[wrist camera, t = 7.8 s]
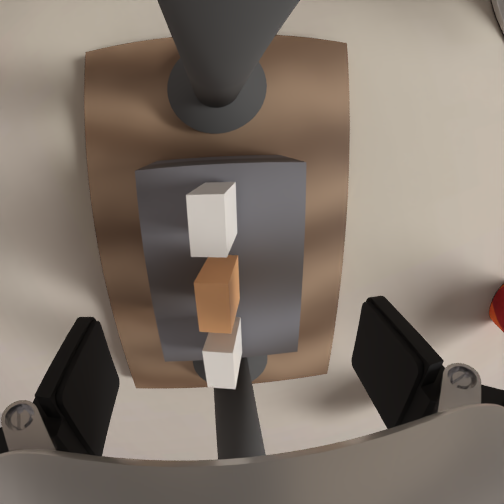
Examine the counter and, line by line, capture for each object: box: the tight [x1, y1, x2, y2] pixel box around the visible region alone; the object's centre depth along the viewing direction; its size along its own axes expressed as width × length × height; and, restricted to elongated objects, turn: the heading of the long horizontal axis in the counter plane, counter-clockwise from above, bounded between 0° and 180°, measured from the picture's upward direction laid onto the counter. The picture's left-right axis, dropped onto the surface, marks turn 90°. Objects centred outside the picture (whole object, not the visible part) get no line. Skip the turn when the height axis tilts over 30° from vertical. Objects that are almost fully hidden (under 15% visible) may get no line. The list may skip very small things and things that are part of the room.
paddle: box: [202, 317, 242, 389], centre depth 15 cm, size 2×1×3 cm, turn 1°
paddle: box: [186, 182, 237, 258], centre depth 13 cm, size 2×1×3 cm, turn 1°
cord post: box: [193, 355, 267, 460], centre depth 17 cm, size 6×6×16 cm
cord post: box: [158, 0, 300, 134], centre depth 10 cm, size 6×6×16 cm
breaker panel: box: [84, 35, 350, 388], centre depth 19 cm, size 28×18×8 cm, turn 1°
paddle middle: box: [194, 255, 240, 334], centre depth 14 cm, size 2×1×3 cm, turn 1°
